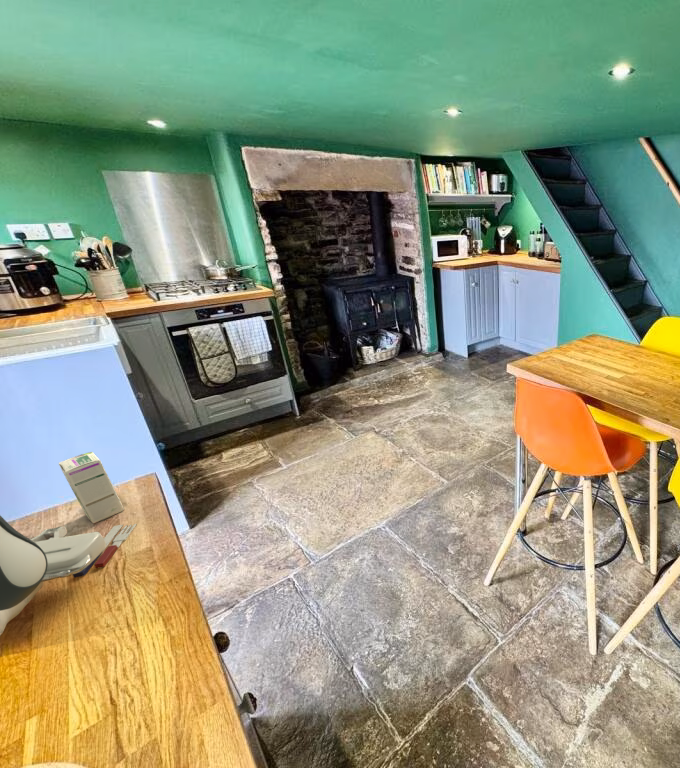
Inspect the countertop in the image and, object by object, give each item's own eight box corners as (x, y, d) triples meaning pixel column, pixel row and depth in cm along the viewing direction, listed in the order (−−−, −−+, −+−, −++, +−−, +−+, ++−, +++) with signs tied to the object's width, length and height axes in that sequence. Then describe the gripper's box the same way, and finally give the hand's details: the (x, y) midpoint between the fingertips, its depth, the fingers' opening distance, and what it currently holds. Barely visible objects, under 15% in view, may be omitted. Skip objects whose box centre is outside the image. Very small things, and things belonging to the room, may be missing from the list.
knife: (74, 577, 77) (72, 574, 77) (114, 527, 89) (112, 523, 89) (84, 575, 78) (82, 572, 77) (123, 525, 90) (121, 522, 89)
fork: (93, 569, 79) (91, 565, 79) (125, 526, 89) (123, 523, 89) (107, 566, 80) (105, 562, 79) (137, 524, 90) (135, 521, 90)
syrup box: (125, 510, 94) (102, 458, 88) (91, 525, 90) (64, 471, 84) (117, 500, 97) (93, 449, 91) (83, 514, 92) (56, 462, 87)
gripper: (72, 560, 70) (115, 507, 82) (-92, 589, 64) (-19, 528, 76) (86, 585, 72) (126, 531, 84) (-70, 616, 66) (-3, 553, 78)
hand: (56, 530), depth 80 cm, fingers closed
